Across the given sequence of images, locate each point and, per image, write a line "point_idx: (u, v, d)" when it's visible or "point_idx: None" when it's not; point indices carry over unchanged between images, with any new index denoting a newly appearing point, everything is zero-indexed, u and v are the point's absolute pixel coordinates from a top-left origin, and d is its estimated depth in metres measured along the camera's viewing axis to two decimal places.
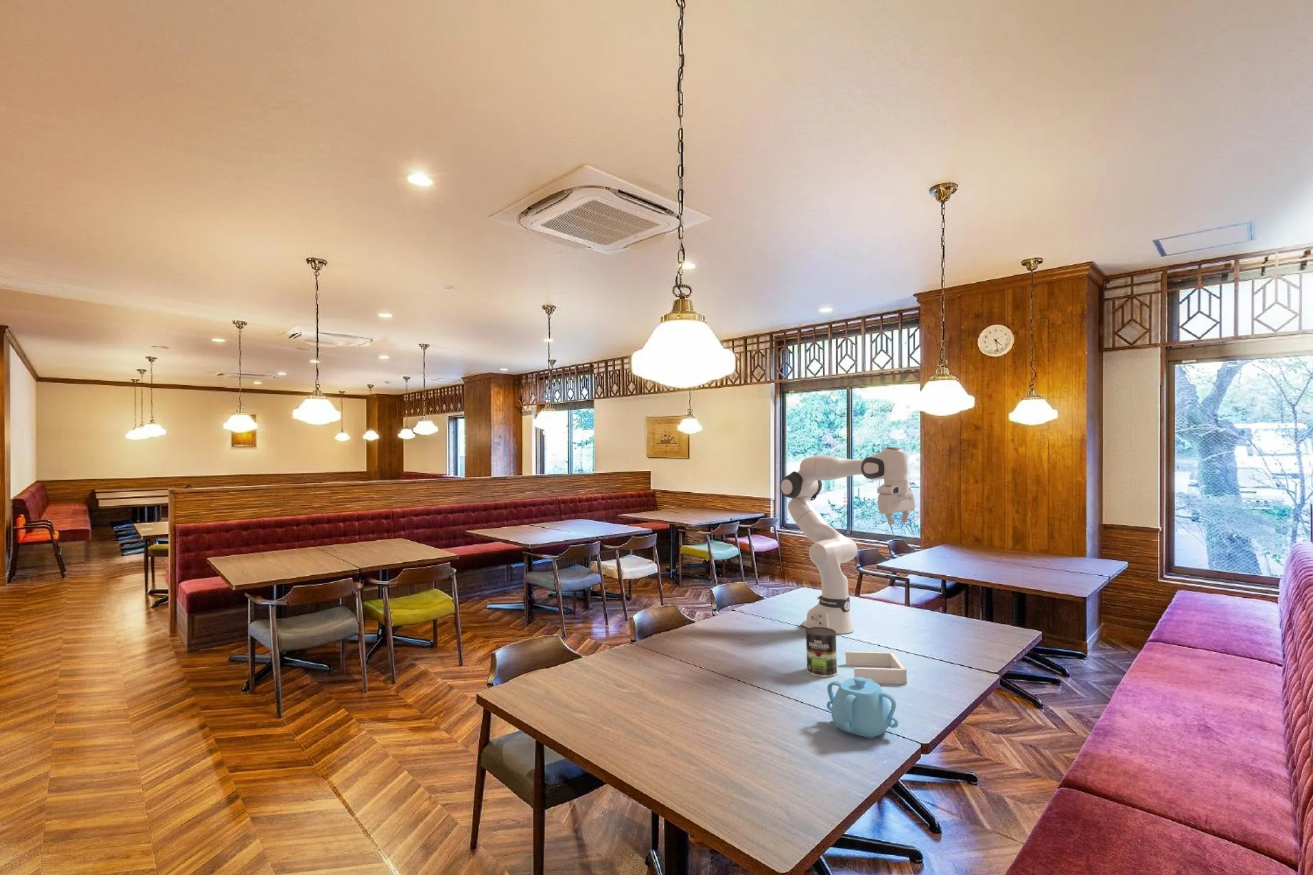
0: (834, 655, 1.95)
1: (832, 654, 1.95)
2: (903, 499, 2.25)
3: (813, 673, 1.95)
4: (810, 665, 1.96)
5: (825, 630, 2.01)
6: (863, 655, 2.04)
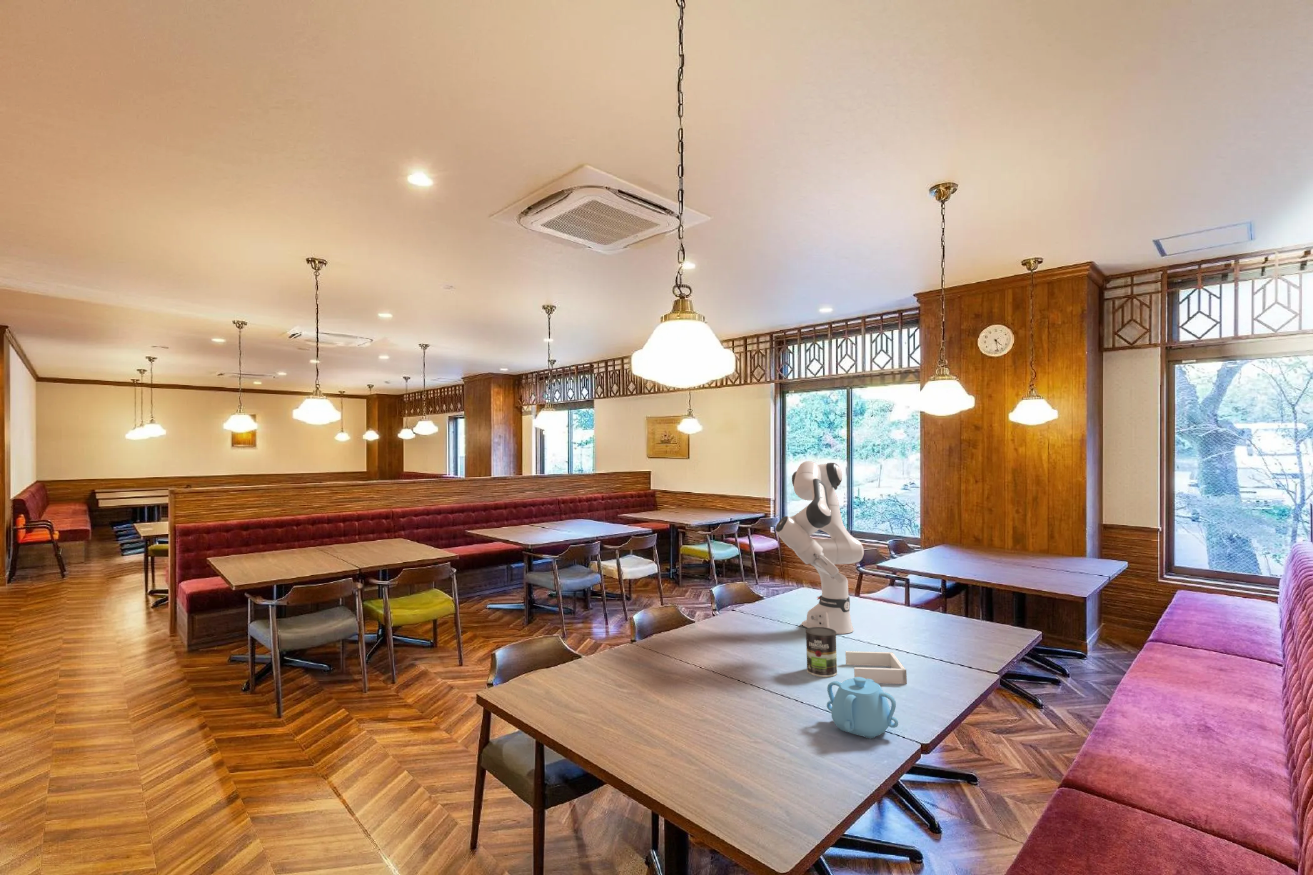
0: (834, 655, 1.95)
1: (832, 654, 1.95)
2: (818, 565, 2.12)
3: (813, 673, 1.95)
4: (810, 665, 1.96)
5: (825, 630, 2.01)
6: (863, 655, 2.04)
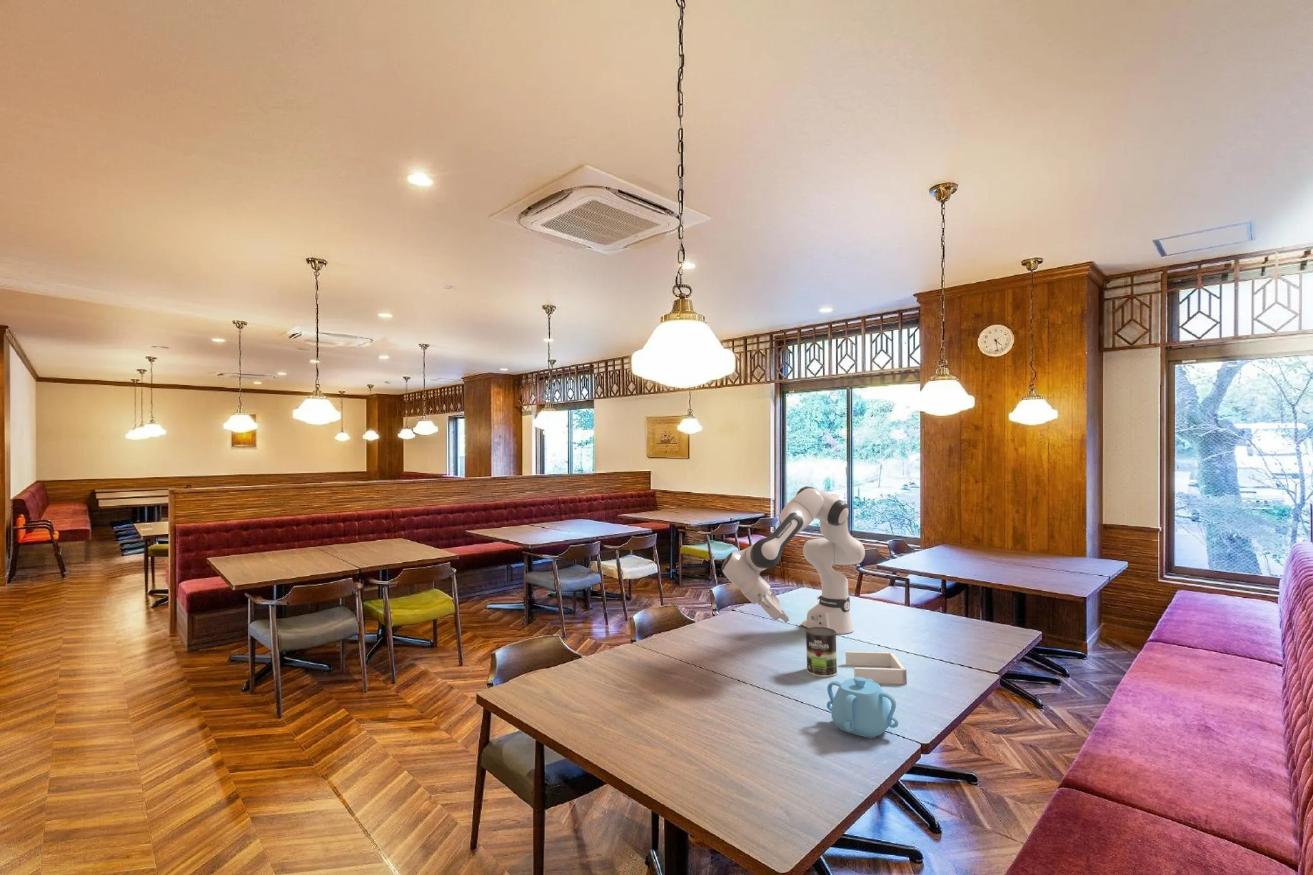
0: (834, 655, 1.95)
1: (832, 654, 1.95)
2: None
3: (813, 673, 1.95)
4: (810, 665, 1.96)
5: (825, 630, 2.01)
6: (863, 655, 2.04)
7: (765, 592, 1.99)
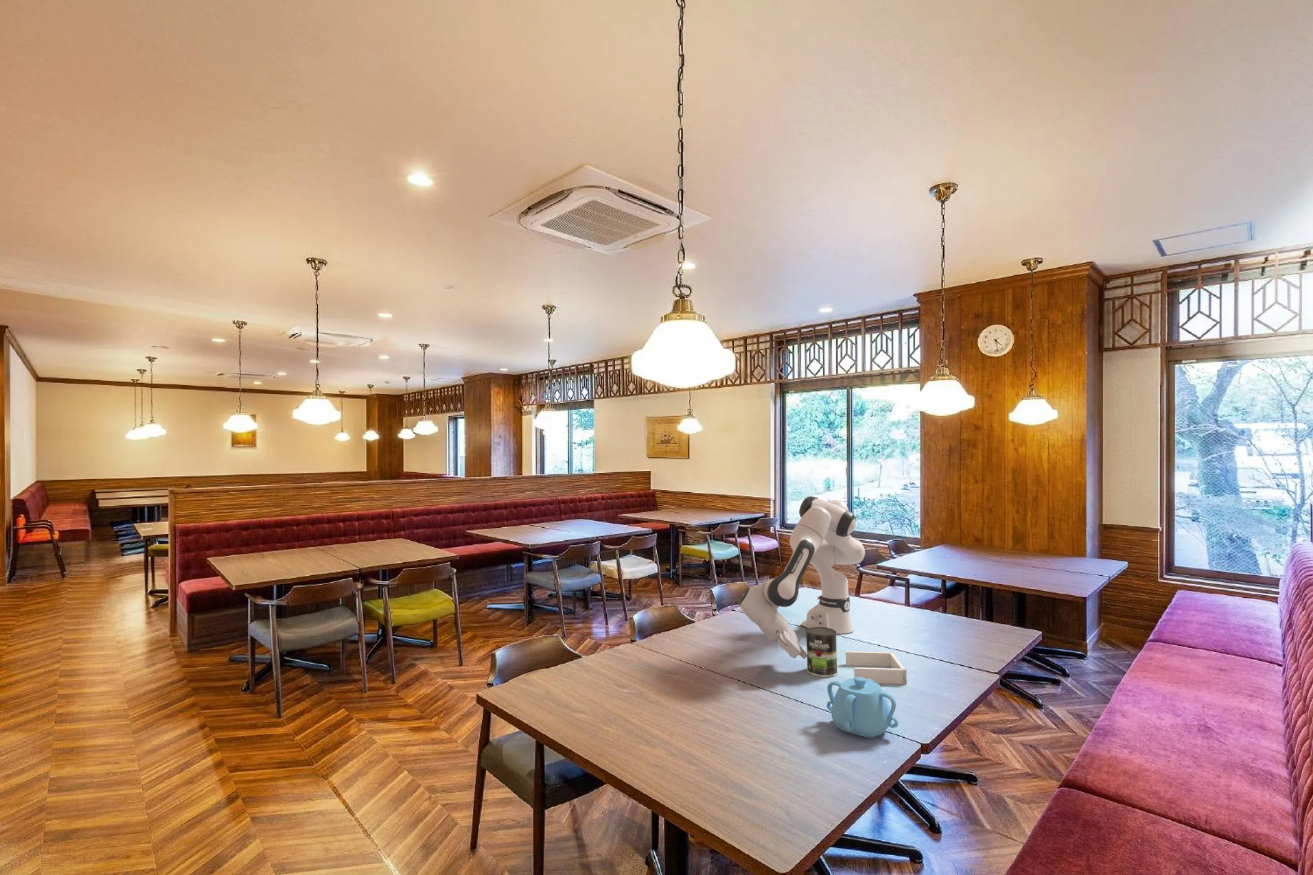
0: (834, 655, 1.95)
1: (832, 654, 1.95)
2: None
3: (813, 673, 1.95)
4: (811, 665, 1.96)
5: (825, 630, 2.01)
6: (863, 655, 2.04)
7: (783, 628, 1.98)
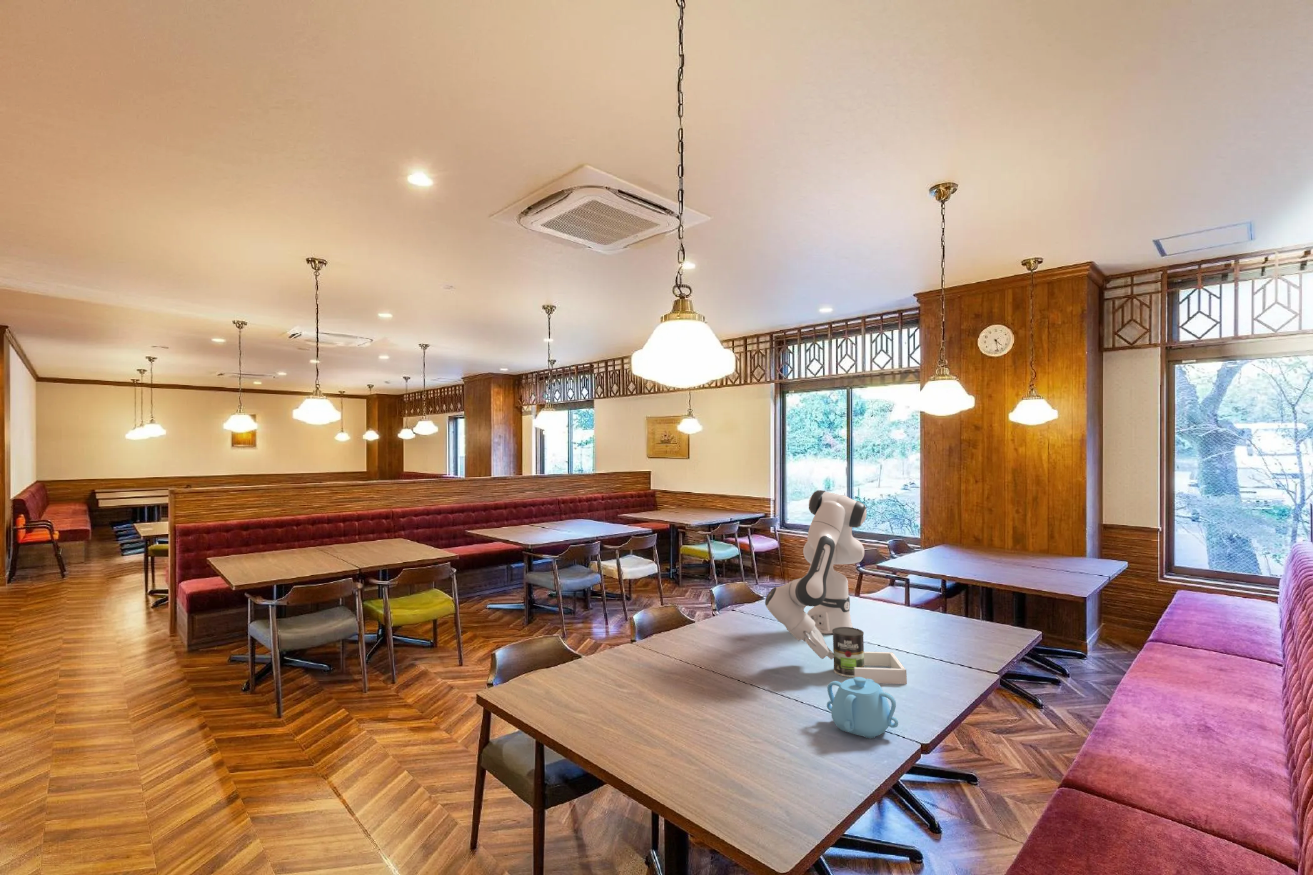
0: (862, 655, 1.95)
1: (861, 654, 1.94)
2: None
3: (842, 674, 1.94)
4: (839, 666, 1.95)
5: (851, 629, 2.00)
6: None
7: (810, 629, 1.96)
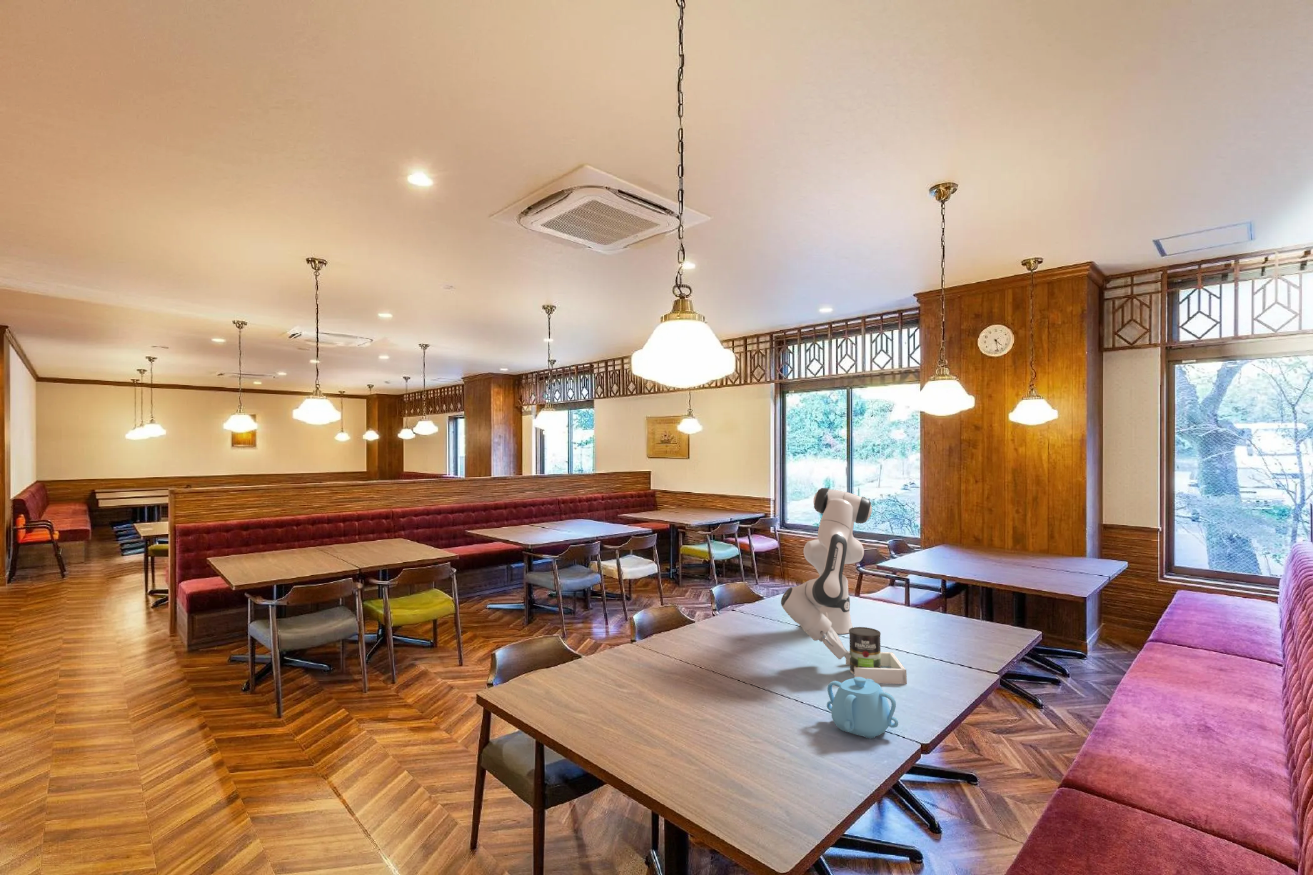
0: (879, 655, 1.94)
1: (878, 654, 1.94)
2: None
3: None
4: (856, 666, 1.94)
5: (867, 629, 1.99)
6: None
7: (827, 629, 1.95)
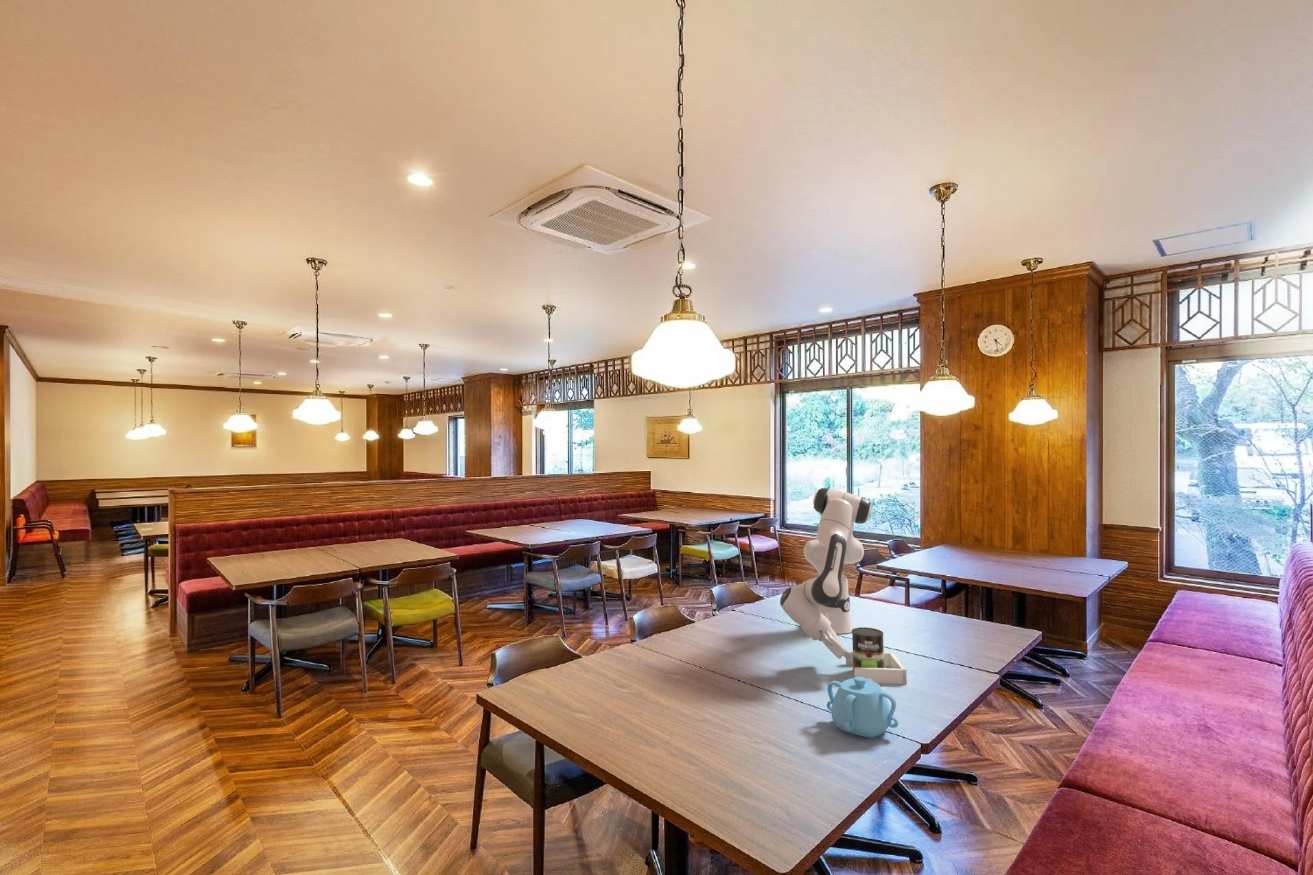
0: (883, 655, 1.94)
1: (881, 654, 1.93)
2: None
3: None
4: (860, 666, 1.94)
5: (870, 630, 1.99)
6: None
7: (826, 628, 1.95)
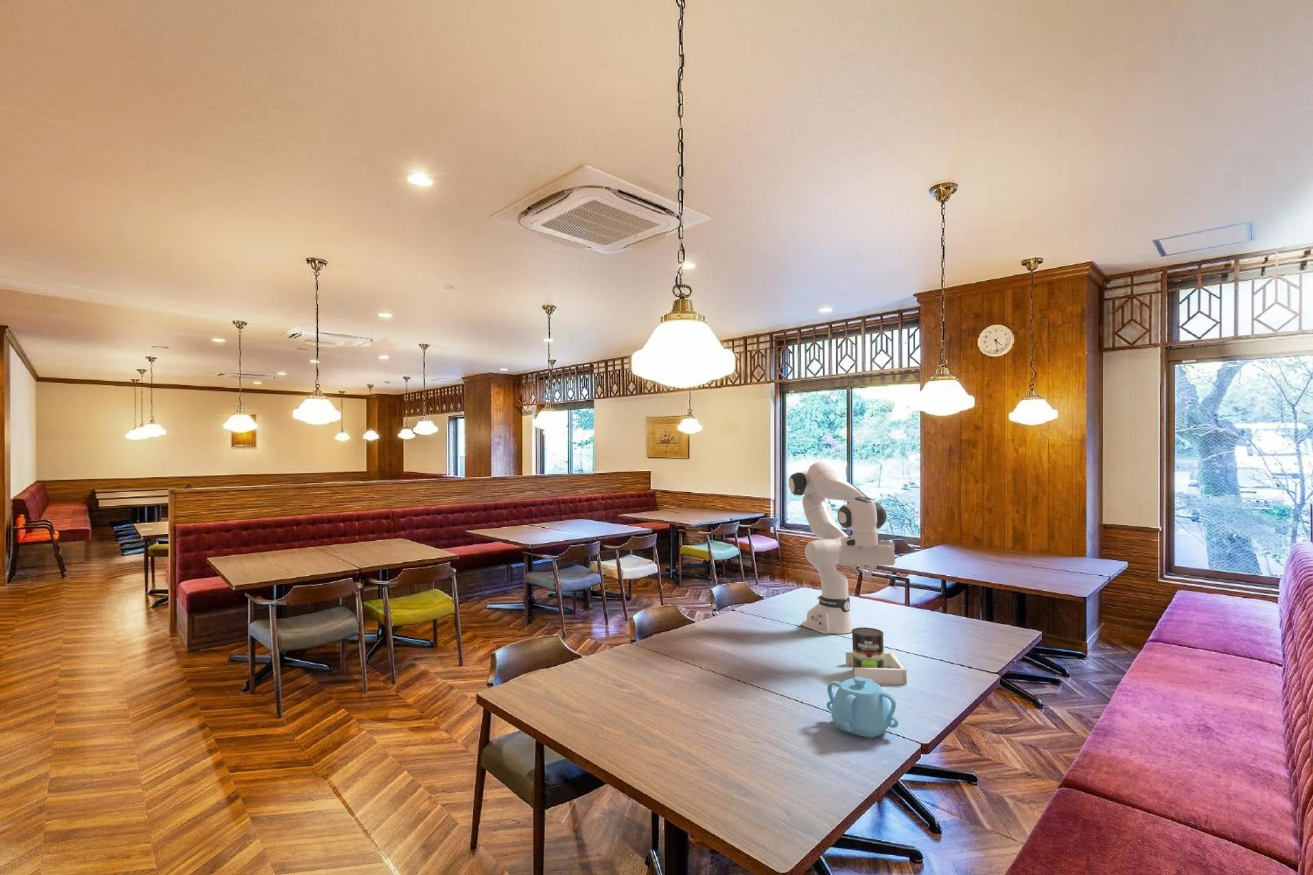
0: (883, 655, 1.94)
1: (881, 654, 1.93)
2: (872, 552, 2.14)
3: None
4: (860, 666, 1.94)
5: (870, 630, 1.99)
6: None
7: None
